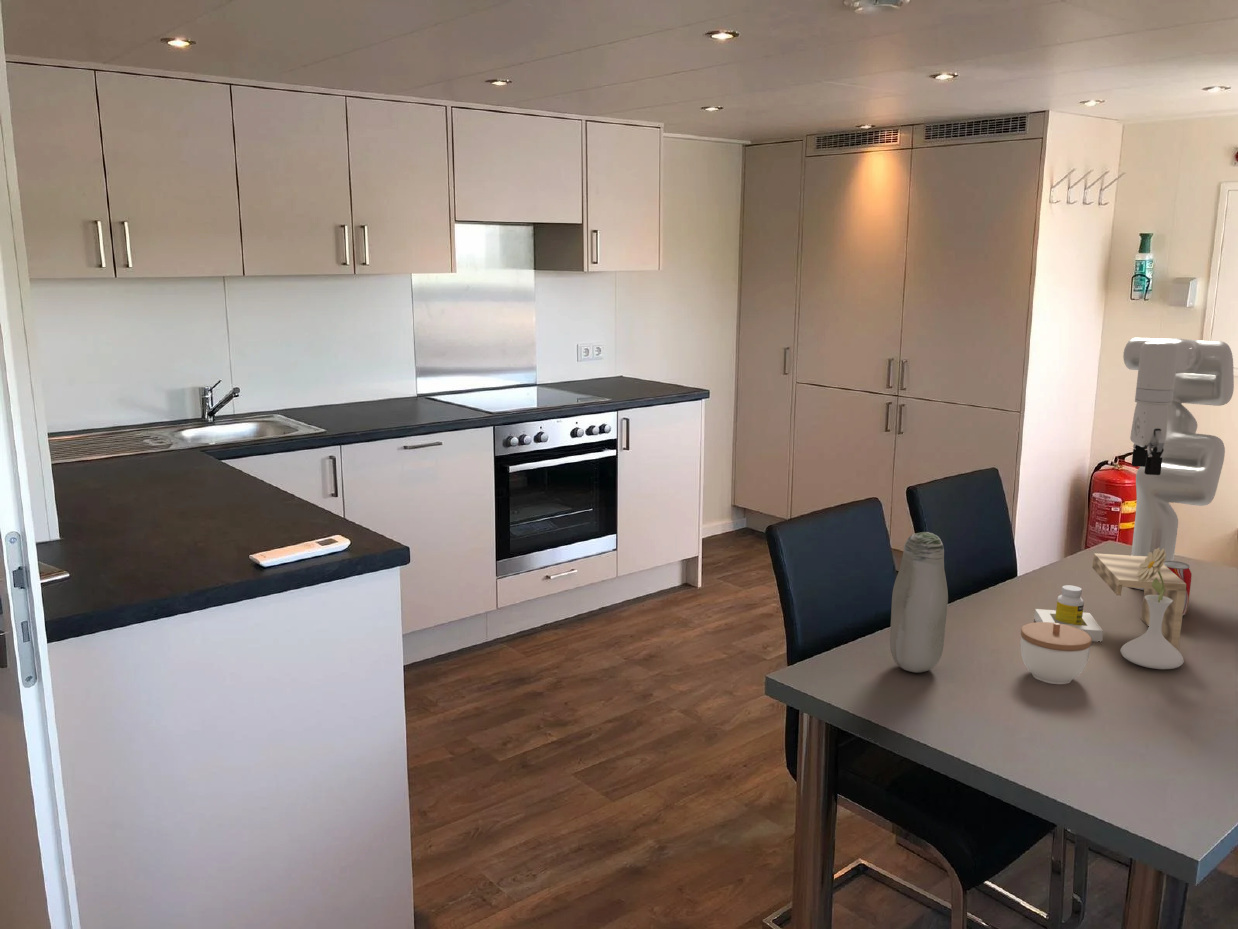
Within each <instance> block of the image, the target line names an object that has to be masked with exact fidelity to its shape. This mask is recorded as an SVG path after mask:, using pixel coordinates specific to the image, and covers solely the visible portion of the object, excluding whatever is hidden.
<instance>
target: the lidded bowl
mask: <svg viewBox="0 0 1238 929" xmlns="http://www.w3.org/2000/svg"><path fill="white" fill-rule="evenodd" d="M1092 642H1093V641H1092V639H1091V637H1090V635H1089V634H1088V633H1086V632H1084V631H1083V630H1080V629H1078V628H1075V627H1072V626H1069V625H1064V624H1059V623H1051V622H1036V621H1035V622H1029V623H1026V624H1024V625H1022V626H1021V628H1020V654H1021V655H1020V656H1021V658H1022V662H1023V664H1024V665H1025V667H1026V668H1027V670H1028V671H1029V672H1030V673H1031V676H1032V677H1033V678H1034V679H1036V680H1038V681H1040V682H1042V683H1045V684H1052V685H1067V684H1069V683H1070V684H1071V682H1072V680H1075V679H1076V678H1077V677H1079V675H1081V673H1082V672H1084V670H1085V668H1086V666H1087V663H1088V660H1089V656H1090V650H1091V645H1092Z"/></svg>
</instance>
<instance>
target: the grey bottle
mask: <svg viewBox="0 0 1238 929" xmlns="http://www.w3.org/2000/svg"><path fill="white" fill-rule="evenodd" d="M944 548H945V547H944V544H943V542H942V540H941V538H940V536H938V535H937V534H934V533H933V532H929V531H922V532H916V533H913V534H912V535H910V536H909V537H908V538H907V540H906V541H905V543H904V545H903V553H902V557H901V562H900V565H899V570H898V572H897V575H896V578H895V581H894V584H893V587H892V589H893V590H892V594H891V595H892V596H891V612H890V613H891V614H890V631H889V632H890V633H889V634H890V635H889V648H890V653H891V656H892V659H893V661H894V662H895V664H896V665H897V666H898V667H899V668H901V669H903V671H904V670H905V671H907V672H909V673H910V672H911V673H924V672H927V671H930V670H932V669H934V668H935V667H936V666H937V664H938V663H939V662H940V659H941V657H942V655H943V653H944V652H943V651H944V646H945V632H946V622H947V615H948V613H947V612H948V603H949V595H948V594H949V593H948V585H947V579H946V572H945V549H944Z"/></svg>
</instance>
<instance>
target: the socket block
mask: <svg viewBox="0 0 1238 929" xmlns="http://www.w3.org/2000/svg"><path fill="white" fill-rule="evenodd" d="M1055 615H1056V609H1055V610H1054V609H1043V608H1042V609H1041V608H1035V609H1034V619H1035V620H1034V621H1035V622H1051V623H1055ZM1064 625H1069V626H1072V627H1075V628H1078V629H1080V630H1083V631H1084V632H1086V633H1088V634H1089V635H1090V637H1091V639H1092V641H1091V642H1098V641H1100V643H1101V641H1102V642H1103V637H1104V630H1103V628H1102V627H1101V626H1100V625H1099V624H1098V622H1097V621H1096V620H1095V618H1094V617H1093V615H1092V614H1091V613H1090V612H1084V611H1083V615H1082V623H1081V625H1070V624H1064Z"/></svg>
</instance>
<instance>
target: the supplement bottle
mask: <svg viewBox="0 0 1238 929" xmlns="http://www.w3.org/2000/svg"><path fill="white" fill-rule="evenodd" d="M1082 592H1083V588H1081V587H1079V586H1076V585H1070V584H1069V585H1068V584H1066V585H1065V584H1064V585H1063V586H1062V587H1061V594H1059V595H1058V596H1057V600H1056V607H1055V610H1056V615H1055V623H1059V624H1070V625H1081V623H1082V615H1083V612H1084V604H1085V600H1084V599H1083V598H1082Z"/></svg>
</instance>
